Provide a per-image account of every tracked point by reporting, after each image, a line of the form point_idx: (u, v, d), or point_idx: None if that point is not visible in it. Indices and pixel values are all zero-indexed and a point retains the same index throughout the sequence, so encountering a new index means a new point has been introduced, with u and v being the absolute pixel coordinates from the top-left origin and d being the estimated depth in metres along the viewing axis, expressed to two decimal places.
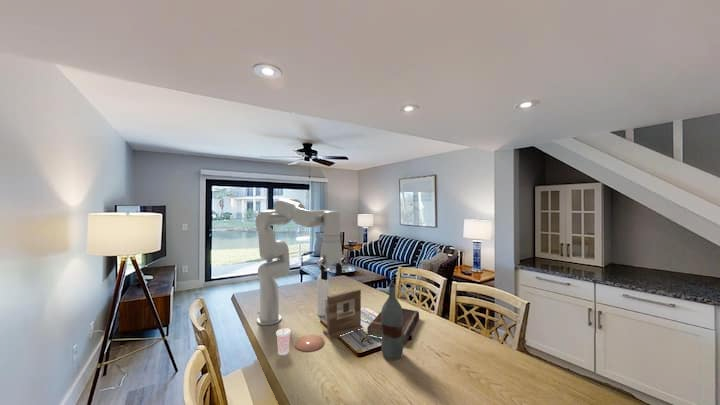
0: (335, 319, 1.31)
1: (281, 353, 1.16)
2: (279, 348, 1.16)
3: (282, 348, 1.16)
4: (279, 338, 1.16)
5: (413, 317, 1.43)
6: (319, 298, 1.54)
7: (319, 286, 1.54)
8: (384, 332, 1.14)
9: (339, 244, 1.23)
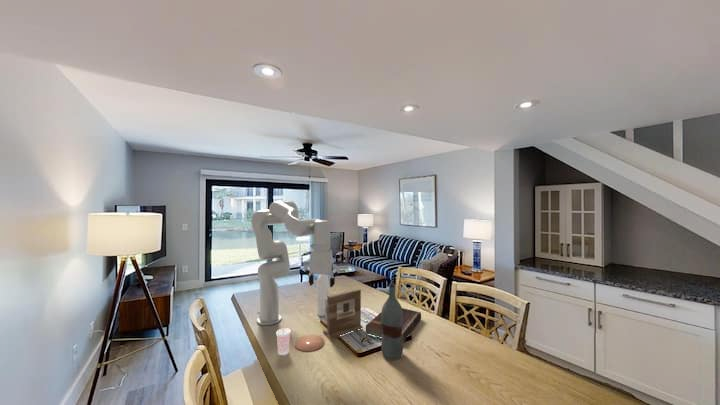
0: (335, 319, 1.31)
1: (281, 353, 1.16)
2: (279, 348, 1.16)
3: (282, 348, 1.16)
4: (279, 338, 1.16)
5: (414, 318, 1.42)
6: (319, 298, 1.54)
7: (319, 286, 1.54)
8: (384, 332, 1.14)
9: None
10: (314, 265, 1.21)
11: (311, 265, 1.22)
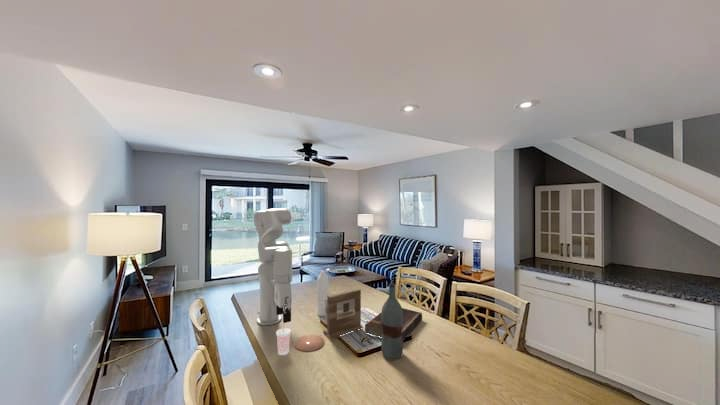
0: (335, 319, 1.31)
1: (281, 353, 1.16)
2: (279, 348, 1.16)
3: (282, 348, 1.16)
4: (279, 338, 1.16)
5: (414, 318, 1.42)
6: (319, 298, 1.54)
7: (319, 286, 1.54)
8: (384, 332, 1.14)
9: None
10: (275, 295, 1.18)
11: (274, 294, 1.19)
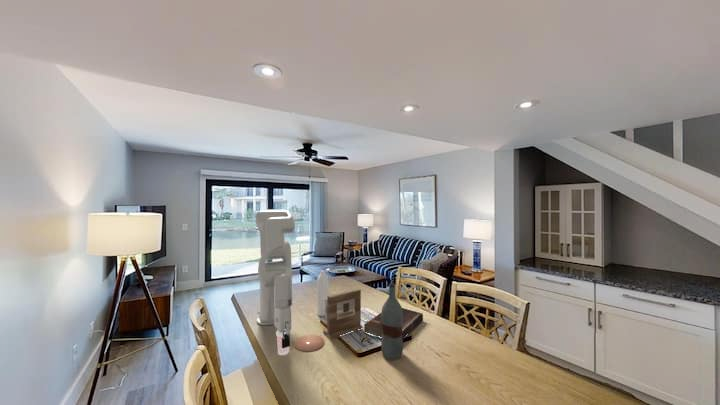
0: (335, 319, 1.31)
1: (281, 353, 1.16)
2: (279, 348, 1.16)
3: (282, 348, 1.16)
4: (279, 338, 1.16)
5: (414, 319, 1.41)
6: (319, 298, 1.54)
7: (319, 286, 1.54)
8: (384, 332, 1.14)
9: None
10: (275, 318, 1.18)
11: (274, 317, 1.20)
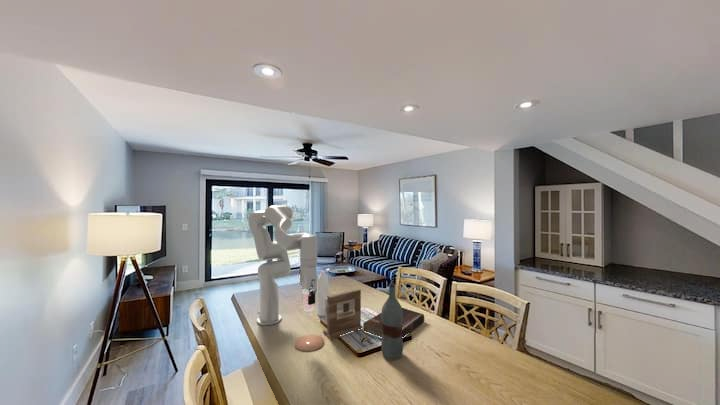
0: (335, 319, 1.31)
1: (307, 310, 1.23)
2: (305, 305, 1.23)
3: (308, 305, 1.22)
4: (305, 296, 1.22)
5: (414, 319, 1.40)
6: (319, 298, 1.54)
7: (319, 286, 1.54)
8: (384, 332, 1.14)
9: None
10: (301, 278, 1.25)
11: (300, 277, 1.26)
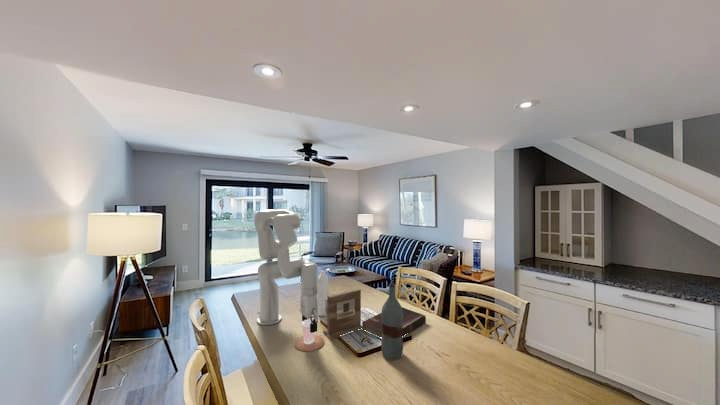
0: (335, 319, 1.31)
1: (307, 342, 1.23)
2: (305, 337, 1.23)
3: (308, 338, 1.23)
4: (305, 328, 1.23)
5: (414, 320, 1.39)
6: (319, 298, 1.54)
7: (319, 286, 1.54)
8: (384, 332, 1.14)
9: None
10: (301, 306, 1.25)
11: (300, 305, 1.27)
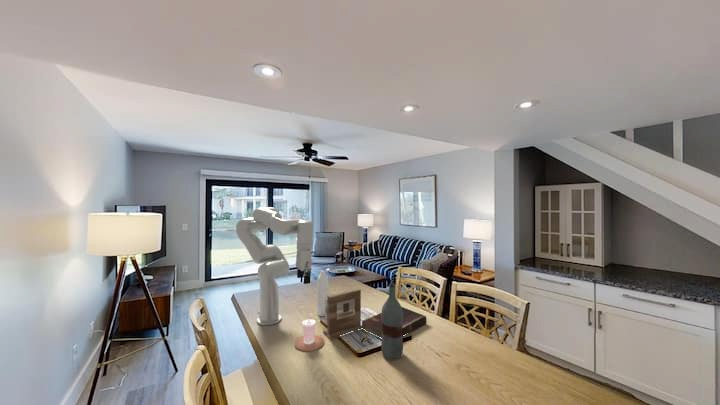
0: (335, 319, 1.31)
1: (307, 342, 1.23)
2: (305, 337, 1.23)
3: (308, 338, 1.23)
4: (305, 328, 1.23)
5: (414, 320, 1.39)
6: (319, 298, 1.54)
7: (319, 286, 1.54)
8: (384, 332, 1.14)
9: None
10: (297, 260, 1.35)
11: (296, 260, 1.36)
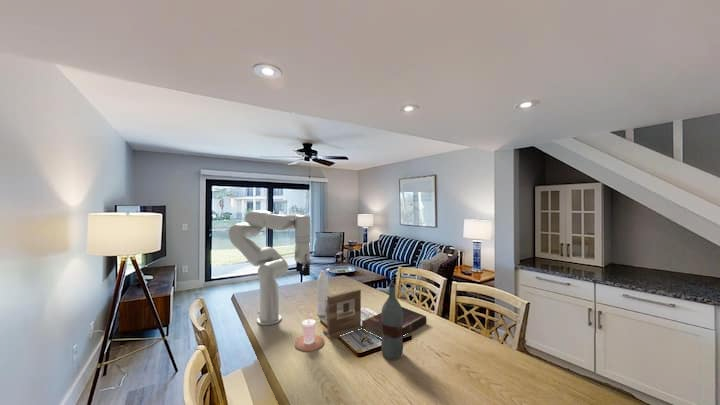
0: (335, 319, 1.31)
1: (307, 342, 1.23)
2: (305, 337, 1.23)
3: (308, 338, 1.23)
4: (305, 328, 1.23)
5: (414, 320, 1.39)
6: (319, 298, 1.54)
7: (319, 286, 1.54)
8: (384, 332, 1.14)
9: None
10: (295, 254, 1.39)
11: (295, 253, 1.40)
